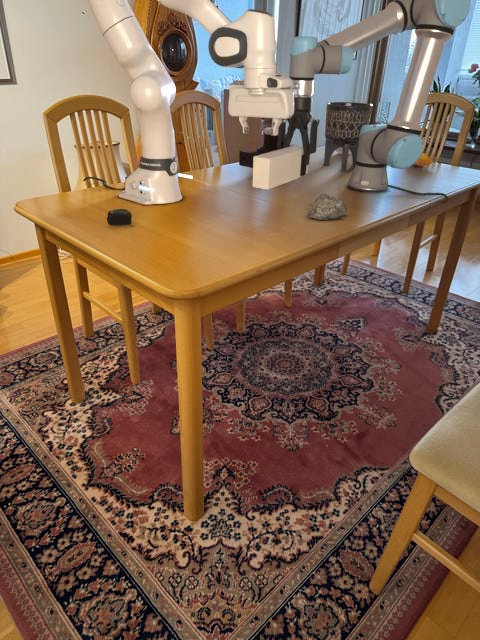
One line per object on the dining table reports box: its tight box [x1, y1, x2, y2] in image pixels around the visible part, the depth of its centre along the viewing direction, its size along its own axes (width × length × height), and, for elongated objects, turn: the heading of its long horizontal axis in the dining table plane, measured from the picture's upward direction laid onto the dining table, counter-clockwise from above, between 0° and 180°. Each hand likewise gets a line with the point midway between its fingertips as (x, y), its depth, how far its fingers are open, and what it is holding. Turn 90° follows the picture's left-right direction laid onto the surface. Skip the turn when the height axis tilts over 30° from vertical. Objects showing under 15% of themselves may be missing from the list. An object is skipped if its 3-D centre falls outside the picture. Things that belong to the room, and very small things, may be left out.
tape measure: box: [106, 208, 133, 227], centre depth 132 cm, size 7×7×4 cm
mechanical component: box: [238, 120, 295, 169], centre depth 191 cm, size 22×21×30 cm
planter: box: [323, 101, 374, 172], centre depth 204 cm, size 20×20×26 cm
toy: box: [414, 152, 434, 168], centre depth 216 cm, size 11×6×15 cm
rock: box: [307, 192, 348, 221], centre depth 142 cm, size 13×9×6 cm, turn 131°
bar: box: [252, 144, 309, 191], centre depth 142 cm, size 25×6×9 cm, turn 146°
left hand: (260, 134), depth 132 cm, fingers open, 8 cm apart
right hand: (294, 173), depth 150 cm, fingers closed on bar, 6 cm apart
